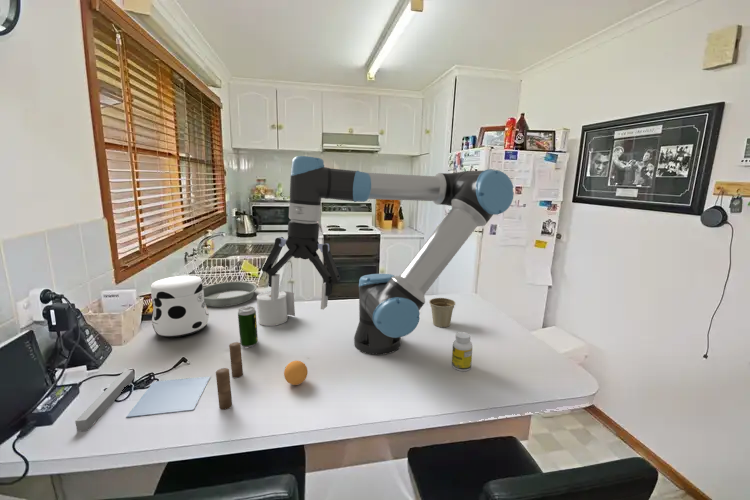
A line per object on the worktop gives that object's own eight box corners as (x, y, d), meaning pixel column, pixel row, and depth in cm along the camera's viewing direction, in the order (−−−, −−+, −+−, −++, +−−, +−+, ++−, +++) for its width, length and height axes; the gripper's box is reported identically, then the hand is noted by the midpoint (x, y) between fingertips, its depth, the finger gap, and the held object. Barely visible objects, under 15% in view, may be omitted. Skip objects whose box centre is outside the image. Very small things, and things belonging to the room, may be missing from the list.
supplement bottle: (447, 364, 100) (449, 332, 98) (462, 360, 102) (464, 329, 100) (459, 373, 95) (461, 340, 93) (475, 369, 97) (477, 337, 95)
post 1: (233, 401, 83) (230, 367, 81) (230, 409, 80) (227, 374, 78) (221, 402, 82) (217, 368, 81) (217, 410, 80) (214, 375, 78)
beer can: (242, 349, 108) (239, 313, 106) (238, 343, 113) (235, 308, 110) (260, 345, 111) (257, 310, 109) (255, 338, 116) (253, 304, 113)
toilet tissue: (252, 322, 129) (250, 296, 127) (277, 312, 139) (276, 288, 137) (271, 328, 123) (269, 302, 121) (296, 317, 133) (295, 293, 131)
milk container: (220, 322, 128) (215, 276, 125) (185, 344, 112) (178, 291, 108) (180, 318, 132) (175, 273, 129) (141, 338, 116) (133, 287, 112)
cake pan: (219, 313, 139) (218, 302, 138) (186, 301, 152) (185, 291, 151) (268, 296, 159) (268, 286, 158) (235, 287, 172) (234, 278, 171)
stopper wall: (134, 378, 93) (133, 369, 92) (87, 430, 73) (85, 420, 73) (126, 378, 92) (124, 370, 92) (77, 431, 73) (75, 421, 73)
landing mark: (210, 376, 93) (210, 376, 93) (193, 410, 80) (193, 409, 80) (153, 382, 91) (153, 381, 91) (126, 417, 77) (126, 416, 77)
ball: (308, 375, 94) (307, 355, 93) (308, 388, 88) (307, 367, 87) (285, 377, 93) (284, 357, 92) (283, 391, 87) (282, 369, 86)
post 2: (243, 371, 96) (241, 341, 94) (241, 377, 93) (239, 346, 91) (233, 372, 95) (230, 342, 93) (230, 378, 93) (228, 347, 91)
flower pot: (425, 327, 125) (426, 304, 123) (431, 317, 133) (432, 296, 132) (451, 331, 121) (453, 308, 120) (456, 321, 130) (457, 299, 128)
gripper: (249, 216, 84) (246, 299, 87) (348, 228, 79) (340, 316, 83) (265, 214, 91) (262, 292, 95) (356, 225, 86) (349, 306, 90)
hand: (298, 303), depth 89 cm, fingers open, 13 cm apart
